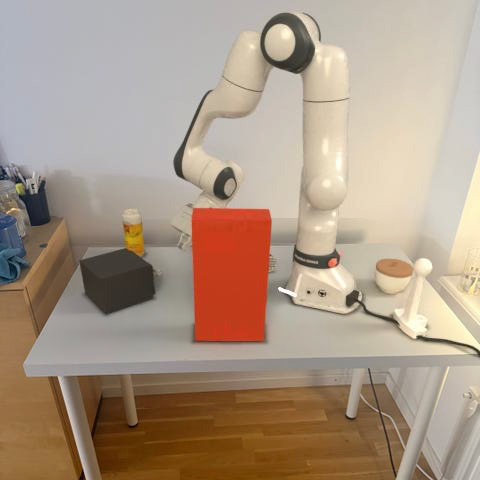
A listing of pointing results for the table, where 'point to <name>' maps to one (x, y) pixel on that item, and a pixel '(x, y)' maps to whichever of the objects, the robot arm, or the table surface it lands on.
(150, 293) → the dark grey open box
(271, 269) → the flashlight
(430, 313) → the table surface
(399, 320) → the joystick
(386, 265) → the trinket box
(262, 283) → the file binder
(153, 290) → the drawer
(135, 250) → the vitamin bottle
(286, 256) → the table surface
